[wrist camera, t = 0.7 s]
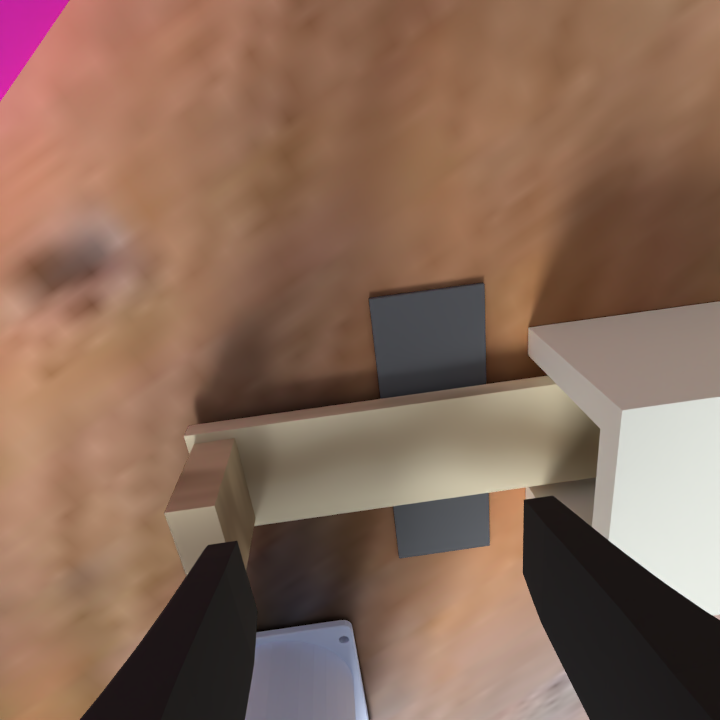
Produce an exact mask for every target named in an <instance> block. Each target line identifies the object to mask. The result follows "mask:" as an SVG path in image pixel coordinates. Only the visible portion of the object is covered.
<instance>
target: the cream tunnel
mask: <svg viewBox="0 0 720 720" xmlns="http://www.w3.org/2000/svg"><path fill="white" fill-rule="evenodd" d="M528 356H529V357H530V358H531V359H532V360H533V361H534V362H535V363H536V364H537V365H538V366H539V367H540V368H541V369H542V370H543V371H544V372H545V373H546V374H547V375H548V376H549V377H550V378H551V379H552V380H553V381H554V382H555V383H556V384H557V385H558V386H559V387H560V388H561V389H562V390H563V391H564V392H565V393H566V394H567V395H568V396H569V397H570V398H571V399H572V400H573V401H574V402H575V403H576V404H577V405H578V406H579V408H580V409H581V410H582V411H583V412H584V413H585V414H586V415H587V416H588V417H589V418H590V419H591V420H592V421H593V422H594V423H595V424H596V425H597V426H598V427H599V428H600V439H599V451H598V463H597V474H596V477H595V478H588V479H581V480H574V481H567V482H560V483H553V484H546V485H539V486H532V487H526V499H532V498H539V497H546V496H554V497H556V498H557V499H558V500H559V501H561V502H562V503H563V504H564V505H566V506H567V507H568V508H569V509H570V510H572V511H573V512H574V513H575V514H577V515H578V516H579V517H580V518H582V519H583V520H584V521H585V522H586V523H588V524H589V525H590V526H591V527H593V528H594V529H595V530H596V531H598V532H599V533H600V534H601V535H603V536H604V537H605V538H606V539H608V540H609V541H610V542H611V543H613V544H614V545H615V546H616V547H618V548H619V549H620V550H622V551H623V552H624V553H625V554H627V555H628V556H629V557H631V558H632V559H633V560H635V561H636V562H637V563H639V564H640V565H641V566H643V567H644V568H645V569H647V570H648V571H649V572H651V573H652V574H653V575H655V576H656V577H657V578H659V579H660V580H661V581H663V582H664V583H666V584H667V585H668V586H670V587H671V588H673V589H674V590H676V591H677V592H678V593H680V594H681V595H683V596H684V597H686V598H687V599H689V600H690V601H692V602H693V603H694V604H696V605H697V606H699V607H700V608H702V609H703V610H705V611H706V612H708V613H709V614H711V615H712V616H713V615H720V301H718V302H711V303H704V304H696V305H689V306H682V307H674V308H667V309H660V310H653V311H645V312H638V313H631V314H624V315H616V316H609V317H602V318H594V319H587V320H580V321H573V322H565V323H558V324H551V325H544V326H536V327H529V328H528Z"/></svg>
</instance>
